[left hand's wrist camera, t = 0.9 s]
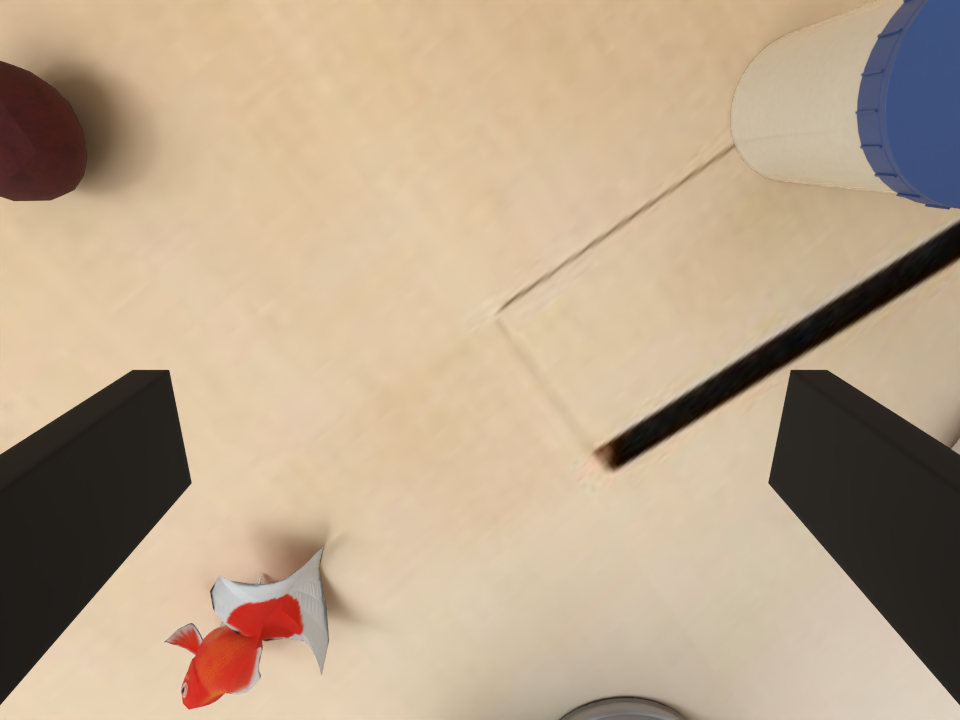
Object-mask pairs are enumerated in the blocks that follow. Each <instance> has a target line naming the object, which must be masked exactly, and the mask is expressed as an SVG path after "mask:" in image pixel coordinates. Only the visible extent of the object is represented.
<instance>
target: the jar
mask: <svg viewBox="0 0 960 720" xmlns="http://www.w3.org/2000/svg"><path fill="white" fill-rule="evenodd" d="M903 3H904V2H903V0H877V1H874V2H872V3H869V4H866V5H864V6H861V7H858V8H856V9H853V10H850V11H848V12H845V13H842V14H840V15H837V16H834V17H832V18H829V19H826V20H823V21H821V22H818V23H815V24H813V25H810V26H807V27H805V28H802V29H799V30H797V31H794V32H791V33H789V34H786V35H784V36H782V37H780V38H778V39H777V40H775V41H774V42H772V43H771V44H769V45H768V46H767V47H766V48H764V49H763V50H762V51H761V52H760V53H759V54H758V55H757V56H756V57H755V58H754V59H753V61H752V62H751V63H750V65H749V66H748V67H747V69H746V70H745V72H744V74H743V75H742V77H741V79H740V81H739V84H738V86H737V88H736V91H735V94H734V97H733V102H732V107H731V130H732V136H733V140H734V143H735V146H736V148H737V150H738V152H739V154H740V155H741V157H742V158H743V160H744V161H745V162H746V163H747V164H748V166H749V167H751V168H752V169H753V170H754V171H755V172H757V173H759V174H760V175H762V176H764V177H767V178H769V179H772V180H777V181H783V182H792V183H802V184H811V185H820V186H829V187H838V188H847V189H857V190H866V191H875V192H884V193H893V194H898V193H896V192H895V191H893V190H892V189H890V188H889V187H888V186H887V185H886V184H885V183H883V182H882V181H881V179H880V178H879V177H875V176H874V175H875V174H876V173H875V172H874V171H873V169H872V168H871V166H870V164H869V163H868V161H867V159H866V157H865V154H864V152H863V149H860V146H861V142H860V138H859V134H858V125H857V114H855V112H856V111H857V100H858V94H859V87H860V83H861V79H862V76H861V73H863V72H864V68H865V66H866V63H867V61H868V58H869V56H870V53H871V50H872V49H873V47H874V45H875V43H876V41H877V39H878V37H877V36H878V34H881V32H882V31H883V29H884V28H885V26H886V25H887V23H888V22H889V20H890V19H891V18H892V16H893V15H894V14H895V13H896V11H897V10H898V9H899V8H900V7H901V5H902V4H903Z"/></svg>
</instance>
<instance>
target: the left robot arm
mask: <svg viewBox="0 0 960 720" xmlns="http://www.w3.org/2000/svg"><path fill="white" fill-rule="evenodd" d="M190 484H191V478H190V473H189V468H188V462H187V457H186V452H185V447H184V442H183V437H182V432H181V427H180V422H179V417H178V412H177V407H176V402H175V397H174V392H173V387H172V382H171V377H170V372H169V370H132V371H131V372H129V373H127V374H126V375H124V376H123V377H121V378H120V379H118V380H116V381H115V382H113V383H112V384H110V385H109V386H107V387H105V388H104V389H102V390H101V391H99V392H98V393H96V394H94V395H93V396H91V397H90V398H88V399H87V400H85V401H84V402H82V403H80V404H79V405H77V406H76V407H74V408H73V409H71V410H69V411H68V412H66V413H65V414H63V415H62V416H60V417H58V418H57V419H55V420H54V421H52V422H51V423H49V424H47V425H46V426H44V427H43V428H41V429H40V430H38V431H36V432H35V433H33V434H32V435H30V436H29V437H27V438H26V439H24V440H22V441H21V442H19V443H18V444H16V445H15V446H13V447H11V448H10V449H8V450H7V451H5V452H4V453H2V454H0V705H1V704H2V702H3V701H4V700H5V699H6V698H7V697H8V695H9V694H10V693H11V692H12V691H13V690H14V688H15V687H16V686H17V685H18V684H19V683H20V682H21V680H22V679H23V678H24V677H25V676H26V675H27V673H28V672H29V671H30V670H31V669H32V668H33V666H34V665H35V664H36V663H37V662H38V661H39V659H40V658H41V657H42V656H43V655H44V654H45V653H46V651H47V650H48V649H49V648H50V647H51V646H52V644H53V643H54V642H55V641H56V640H57V639H58V637H59V636H60V635H61V634H62V633H63V632H64V630H65V629H66V628H67V627H68V626H69V625H70V624H71V622H72V621H73V620H74V619H75V618H76V617H77V615H78V614H79V613H80V612H81V611H82V610H83V608H84V607H85V606H86V605H87V604H88V603H89V601H90V600H91V599H92V598H93V597H94V596H95V595H96V593H97V592H98V591H99V590H100V589H101V588H102V586H103V585H104V584H105V583H106V582H107V581H108V579H109V578H110V577H111V576H112V575H113V574H114V572H115V571H116V570H117V569H118V568H119V567H120V566H121V564H122V563H123V562H124V561H125V560H126V559H127V557H128V556H129V555H130V554H131V553H132V552H133V550H134V549H135V548H136V547H137V546H138V545H139V543H140V542H141V541H142V540H143V539H144V538H145V537H146V535H147V534H148V533H149V532H150V531H151V530H152V528H153V527H154V526H155V525H156V524H157V523H158V521H159V520H160V519H161V518H162V517H163V516H164V514H165V513H166V512H167V511H168V510H169V509H170V508H171V506H172V505H173V504H174V503H175V502H176V501H177V499H178V498H179V497H180V496H181V495H182V494H183V492H184V491H185V490H186V489H187V488H188V487H189V485H190ZM769 484H770V485H771V487H772V488H773V489H774V490H775V491H776V492H777V494H778V495H779V496H780V497H781V498H782V499H783V501H784V502H785V503H786V504H787V505H788V506H789V508H790V509H791V510H792V511H793V512H794V513H795V514H796V516H797V517H798V518H799V519H800V520H801V521H802V523H803V524H804V525H805V526H806V527H807V528H808V530H809V531H810V532H811V533H812V534H813V535H814V537H815V538H816V539H817V540H818V541H819V542H820V543H821V545H822V546H823V547H824V548H825V549H826V550H827V552H828V553H829V554H830V555H831V556H832V557H833V559H834V560H835V561H836V562H837V563H838V564H839V566H840V567H841V568H842V569H843V570H844V571H845V572H846V574H847V575H848V576H849V577H850V578H851V579H852V581H853V582H854V583H855V584H856V585H857V586H858V588H859V589H860V590H861V591H862V592H863V593H864V595H865V596H866V597H867V598H868V599H869V600H870V601H871V603H872V604H873V605H874V606H875V607H876V608H877V610H878V611H879V612H880V613H881V614H882V615H883V617H884V618H885V619H886V620H887V621H888V622H889V624H890V625H891V626H892V627H893V628H894V629H895V630H896V632H897V633H898V634H899V635H900V636H901V637H902V639H903V640H904V641H905V642H906V643H907V644H908V646H909V647H910V648H911V649H912V650H913V651H914V653H915V654H916V655H917V656H918V657H919V658H920V659H921V661H922V662H923V663H924V664H925V665H926V666H927V668H928V669H929V670H930V671H931V672H932V673H933V675H934V676H935V677H936V678H937V679H938V680H939V682H940V683H941V684H942V685H943V686H944V687H945V688H946V690H947V691H948V692H949V693H950V694H951V695H952V697H953V698H954V699H955V700H956V701H957V702H958V704H959V705H960V454H958V453H956V452H955V451H953V450H952V449H950V448H949V447H947V446H945V445H944V444H942V443H941V442H939V441H938V440H936V439H934V438H933V437H931V436H930V435H928V434H927V433H925V432H924V431H922V430H920V429H919V428H917V427H916V426H914V425H913V424H911V423H909V422H908V421H906V420H905V419H903V418H902V417H900V416H898V415H897V414H895V413H894V412H892V411H891V410H889V409H887V408H886V407H884V406H883V405H881V404H880V403H878V402H876V401H875V400H873V399H872V398H870V397H869V396H867V395H866V394H864V393H862V392H861V391H859V390H858V389H856V388H855V387H853V386H851V385H850V384H848V383H847V382H845V381H844V380H842V379H840V378H839V377H837V376H836V375H834V374H833V373H831V372H829V371H828V370H791V372H790V377H789V382H788V387H787V392H786V397H785V402H784V407H783V412H782V417H781V422H780V427H779V432H778V437H777V442H776V447H775V452H774V457H773V462H772V468H771V473H770V478H769ZM561 720H686V719H685V718H683V717H682V716H681V715H680V714H679V713H677V712H676V711H674V710H672V709H671V708H669V707H666V706H664V705H662V704H659V703H656V702H652V701H648V700H643V699H635V698H616V699H608V700H602V701H598V702H594V703H591V704H588V705H585V706H583V707H580V708H578V709H576V710H574V711H572V712H571V713H569V714H568V715H566V716H565V717H563V718H562V719H561Z"/></svg>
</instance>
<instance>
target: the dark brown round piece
mask: <svg viewBox="0 0 960 720" xmlns="http://www.w3.org/2000/svg"><path fill="white" fill-rule="evenodd" d="M86 160H87V153H86V147H85V141H84V135H83V130H82V127H81V125H80V123H79V121H78V119H77V117H76V115H75V113H74V111H73V109H72V106H71V104H70V103H69V102H68V101H67V100H66V99H65V98H64V97H63V96H62V95H61V94H60V93H59V92H58V91H57V90H56V89H55V88H53V87H52V86H51V85H49V84H48V83H46V82H45V81H43V80H42V79H40V78H39V77H37V76H36V75H34V74H33V73H31V72H30V71H27V70H24V69H22V68H19V67H17V66H14V65H11V64H8V63H5V62H2V61H0V197H3V198H6V199H10V200H13V201H44V200H53V199H55V198H58V197H60V196H62V195H64V194H66V193H69V192H71V191H73V190H75V188H76V187H77V185H78V184H79V182H80V181H81V179H82V178H83V176H84V172H85V166H86Z"/></svg>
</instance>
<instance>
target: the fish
mask: <svg viewBox="0 0 960 720" xmlns="http://www.w3.org/2000/svg"><path fill="white" fill-rule="evenodd" d="M323 548H324V546H323V547H322V548H321V549H319V550H318V551H317V552H316V553H315V554H314V555H313V556H312V558H311V559H310V560H309V561H308V562H307V563H306V564H305V565H304V566H302V567H301V568H300V569H298V570H297V571H296V572H294V573H293V574H292V575H290V576H289V577H287V578H286V579H284V580H283V581H279V582H274V583H270V584H260V582H261V576H260V578H259V581H258V583H257V584H247V583H241V582H235V581H230V580H228V579H226V578H223V577H221V576H219V577H218V579H217V580H216V582H215V584H214V586H213V587H212V589H211V591H210V593H211V598H212V604H213V609H214V611H215V612H216V614H217V615H218V617H219V618H220V619H221V620H222V621H223V622H222V624H221V626H220V627H219V628H216V629H214V630H213V631H212V632H210V633H209V634H208V635H207V636H206V637H205V638H204V640H203V639H202V637H201V635H200V633H199V631H198V629H197V628H196V627H195V625H194V624H192V623H190V624H188V625H186V626H184V627H182V628H180V629H178V630H177V631H176V632H175V633H174V634H173V635H172V636H171V637H170V638H169V639H167V640H166V641H165V642H168V643H170V644H173V645H178V646H180V647H183V648H186V649H187V650H189V651H190V652H192V653H193V654H195V655H196V656H195V657H194V658H193V659H192V661H191V664H190V666H189V669H188V672H187V674H186V676H185V679H184V682H183V685H182V690H181V693H182V699H183V704H184V705H185V706H186V707H187V708H188V709H189V710H190V709H193V708H198V707H202V706H206V705H209V704H211V703H213V702H215V701H217V700H218V699H219V698H220V697H222V695H223V694H224V693H229V694H241V693H244V692H248V691H249V690H250V689H251V688H253V687H254V686H255V684H256V683H257V682H258V680H259V679H260V677H261V675H260V673H259V662H260V657H261V653H262V640H264V641H269V640H277V639H284V638H288V639H293V640H300V641H305V642H306V643H307V644H308V645H309V647H310V648H311V649H312V651H313V653H314V655H315V657H316V659H317V661H318V664H319V667H320V671H321V676H322V671H323V667H324V662H325V657H326V653H327V648H328V643H329V634H328V622H327V610H326V603H325V598H324V592H323V587H322V582H321V575H320V569H319V566H320V561H321V556H322V550H323Z"/></svg>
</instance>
